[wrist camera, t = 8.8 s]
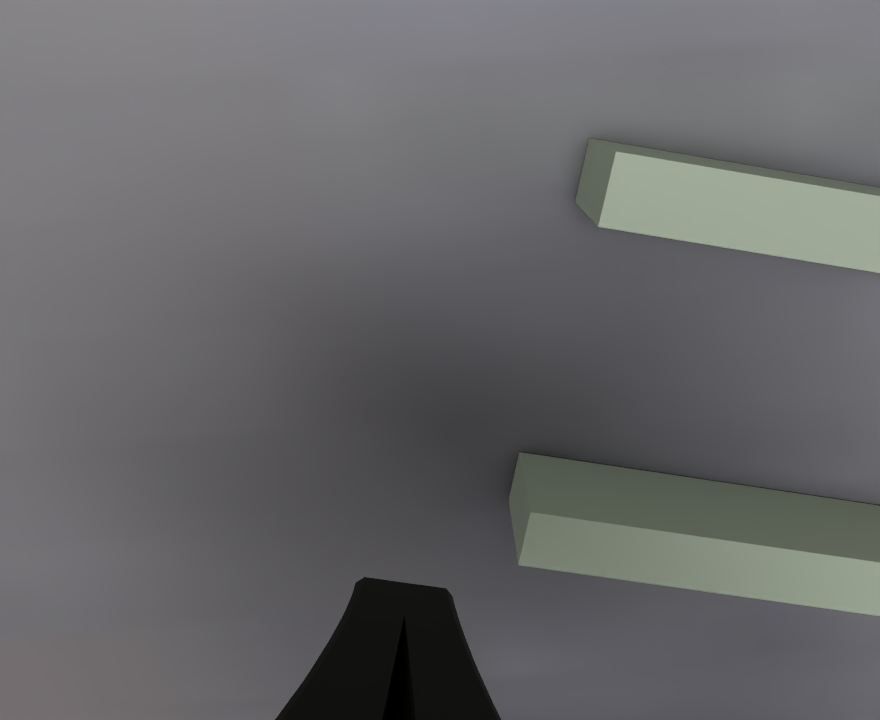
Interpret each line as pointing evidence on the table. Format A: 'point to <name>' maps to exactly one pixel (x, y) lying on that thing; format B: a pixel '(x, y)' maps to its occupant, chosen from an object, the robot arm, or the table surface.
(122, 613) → the table surface
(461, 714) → the robot arm
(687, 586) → the rails
